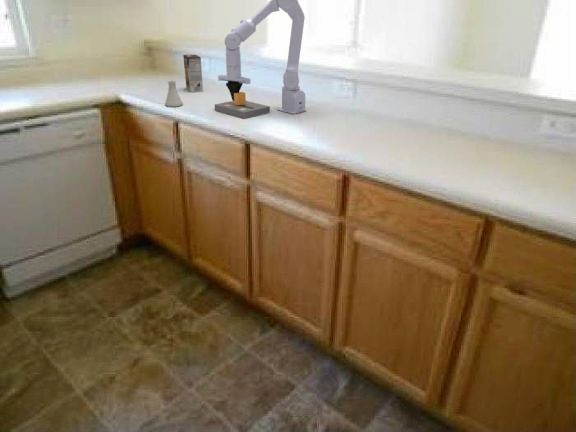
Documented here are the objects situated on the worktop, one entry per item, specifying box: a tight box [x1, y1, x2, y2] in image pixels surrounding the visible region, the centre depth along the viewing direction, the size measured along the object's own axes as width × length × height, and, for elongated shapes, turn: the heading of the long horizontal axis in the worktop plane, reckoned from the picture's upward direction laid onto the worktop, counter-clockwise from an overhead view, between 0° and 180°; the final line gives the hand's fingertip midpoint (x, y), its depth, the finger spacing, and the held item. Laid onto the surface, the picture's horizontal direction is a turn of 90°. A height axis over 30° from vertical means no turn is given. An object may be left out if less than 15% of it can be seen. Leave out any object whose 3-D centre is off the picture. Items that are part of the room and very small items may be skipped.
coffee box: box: [183, 54, 204, 93], centre depth 215 cm, size 9×6×16 cm
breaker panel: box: [214, 100, 271, 120], centre depth 182 cm, size 18×14×3 cm
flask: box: [164, 80, 184, 108], centre depth 188 cm, size 7×7×10 cm
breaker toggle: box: [234, 91, 247, 105], centre depth 181 cm, size 2×4×4 cm, turn 137°
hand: (234, 100), depth 183 cm, fingers closed
